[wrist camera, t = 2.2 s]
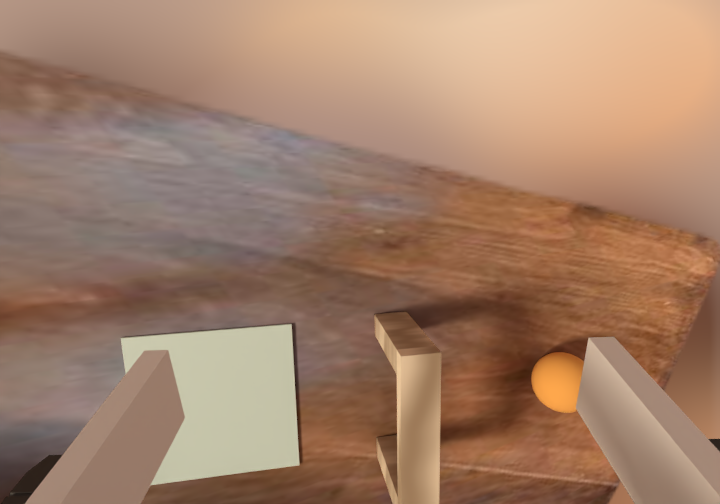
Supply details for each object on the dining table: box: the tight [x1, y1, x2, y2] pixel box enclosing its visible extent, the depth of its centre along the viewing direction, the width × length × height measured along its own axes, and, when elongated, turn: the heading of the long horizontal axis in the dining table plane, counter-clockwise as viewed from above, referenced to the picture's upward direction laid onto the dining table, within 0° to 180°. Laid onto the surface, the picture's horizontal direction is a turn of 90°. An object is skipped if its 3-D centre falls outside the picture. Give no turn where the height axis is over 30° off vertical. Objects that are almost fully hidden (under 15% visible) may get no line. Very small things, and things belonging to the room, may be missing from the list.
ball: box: [531, 352, 584, 413], centre depth 42 cm, size 6×6×6 cm
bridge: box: [375, 312, 441, 504], centre depth 38 cm, size 3×14×9 cm, turn 1°
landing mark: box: [121, 324, 299, 485], centre depth 39 cm, size 14×14×1 cm
